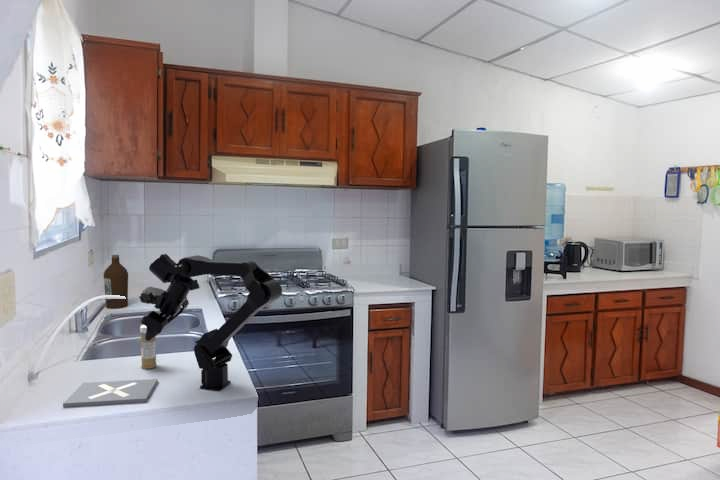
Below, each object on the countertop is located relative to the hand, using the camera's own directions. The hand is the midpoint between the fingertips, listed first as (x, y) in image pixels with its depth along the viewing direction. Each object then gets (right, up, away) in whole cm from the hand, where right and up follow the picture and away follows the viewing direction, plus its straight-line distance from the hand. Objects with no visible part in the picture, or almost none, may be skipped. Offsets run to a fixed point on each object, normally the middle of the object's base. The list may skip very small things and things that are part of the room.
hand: (154, 333), depth 147 cm
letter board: (-6, -14, -13) cm, 20 cm away
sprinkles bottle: (-5, -13, +9) cm, 16 cm away
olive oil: (-56, -4, +90) cm, 106 cm away
